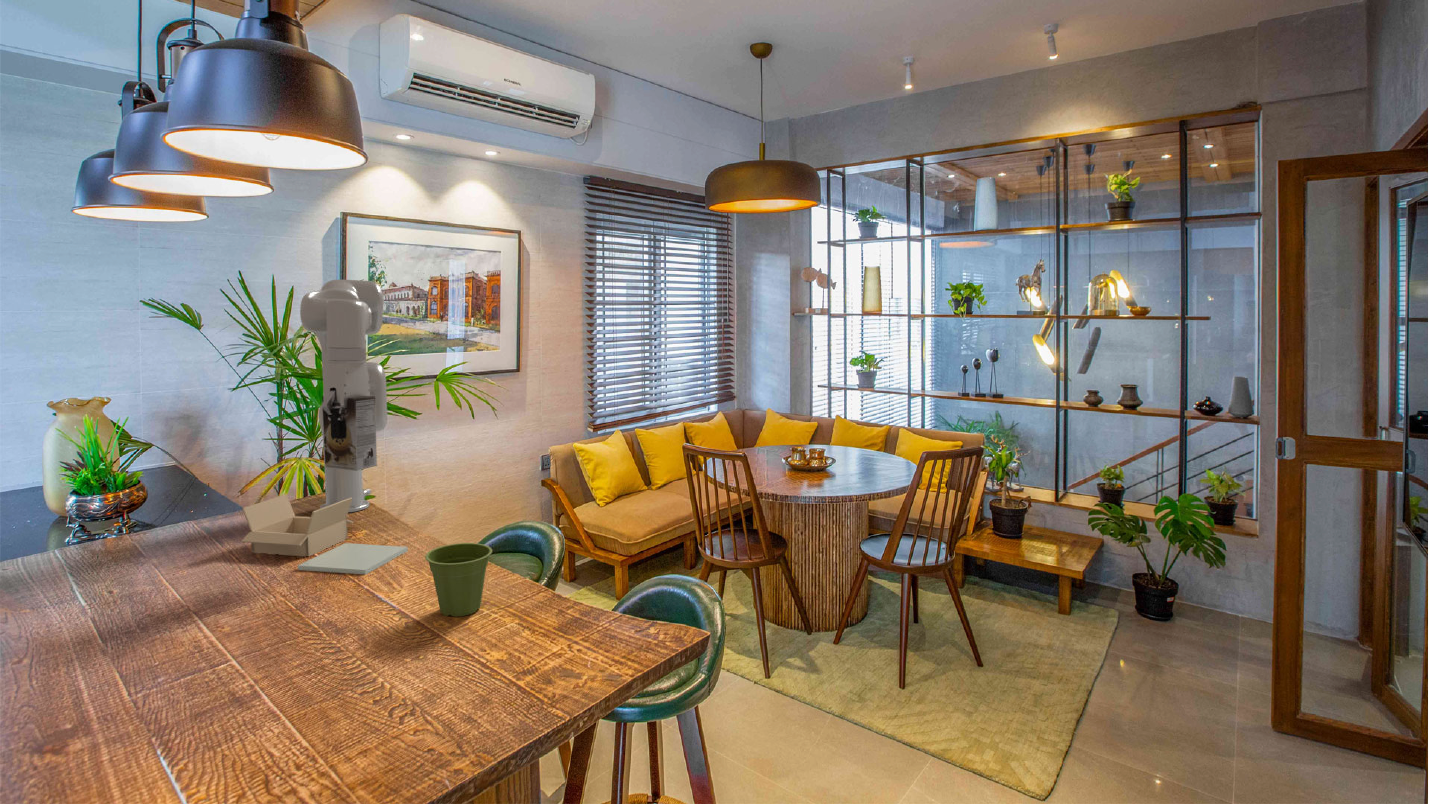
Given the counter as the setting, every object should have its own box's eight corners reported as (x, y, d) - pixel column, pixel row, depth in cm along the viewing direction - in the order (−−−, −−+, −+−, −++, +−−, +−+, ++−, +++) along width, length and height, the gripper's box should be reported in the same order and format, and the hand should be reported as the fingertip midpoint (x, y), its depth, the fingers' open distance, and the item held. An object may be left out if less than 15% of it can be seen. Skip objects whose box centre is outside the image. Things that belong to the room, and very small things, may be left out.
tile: (345, 547, 167) (345, 543, 167) (407, 551, 165) (407, 546, 165) (297, 569, 152) (297, 565, 151) (365, 574, 149) (365, 570, 149)
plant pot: (413, 613, 130) (411, 555, 129) (465, 593, 140) (464, 539, 139) (455, 628, 124) (453, 567, 123) (506, 606, 134) (505, 549, 133)
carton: (295, 532, 178) (293, 491, 177) (361, 536, 176) (359, 494, 175) (235, 556, 160) (232, 510, 158) (307, 561, 157) (305, 514, 156)
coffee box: (323, 468, 154) (320, 395, 153) (346, 462, 160) (343, 393, 159) (356, 471, 152) (353, 397, 150) (378, 465, 158) (376, 395, 156)
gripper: (356, 354, 162) (359, 429, 164) (303, 357, 145) (307, 441, 147) (386, 354, 161) (388, 430, 163) (336, 358, 144) (339, 442, 146)
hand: (350, 434), depth 155 cm, fingers closed on coffee box, 7 cm apart
